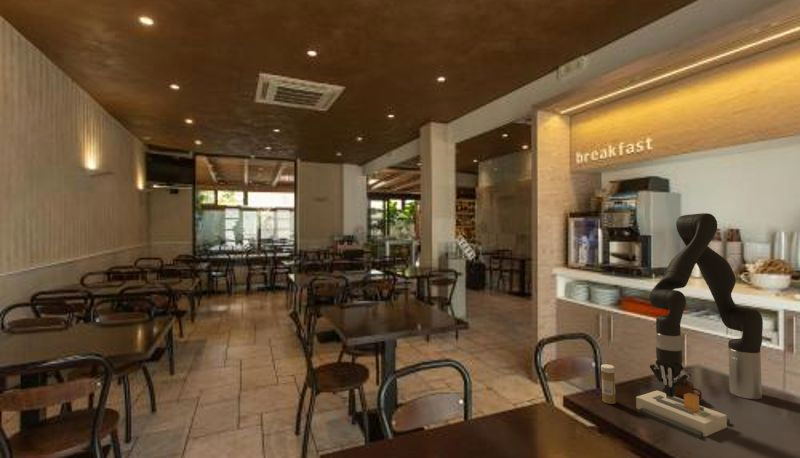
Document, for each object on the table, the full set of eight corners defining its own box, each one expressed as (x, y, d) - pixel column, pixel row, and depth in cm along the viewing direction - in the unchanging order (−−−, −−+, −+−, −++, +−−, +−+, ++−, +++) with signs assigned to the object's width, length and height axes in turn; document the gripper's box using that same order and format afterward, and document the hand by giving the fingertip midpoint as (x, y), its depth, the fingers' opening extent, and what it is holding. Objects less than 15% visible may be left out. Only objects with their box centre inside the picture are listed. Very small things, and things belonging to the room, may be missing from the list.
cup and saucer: (700, 396, 149) (699, 380, 149) (703, 408, 139) (703, 391, 139) (662, 389, 156) (662, 374, 156) (663, 401, 146) (662, 385, 146)
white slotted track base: (669, 400, 145) (669, 397, 145) (733, 424, 127) (733, 420, 127) (636, 412, 138) (636, 408, 138) (699, 438, 119) (699, 435, 119)
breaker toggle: (689, 406, 131) (689, 392, 131) (699, 410, 129) (699, 396, 129) (684, 408, 130) (683, 394, 130) (694, 412, 127) (693, 397, 127)
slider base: (657, 400, 146) (657, 387, 146) (726, 427, 126) (726, 411, 126) (636, 407, 141) (636, 394, 141) (705, 436, 121) (704, 420, 121)
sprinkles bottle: (618, 402, 146) (617, 366, 146) (611, 405, 143) (610, 368, 143) (606, 398, 149) (604, 362, 149) (599, 401, 147) (598, 365, 147)
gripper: (696, 349, 131) (697, 401, 131) (656, 340, 143) (657, 387, 143) (682, 353, 128) (684, 406, 128) (643, 343, 140) (644, 391, 140)
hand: (670, 396), depth 136 cm, fingers closed
